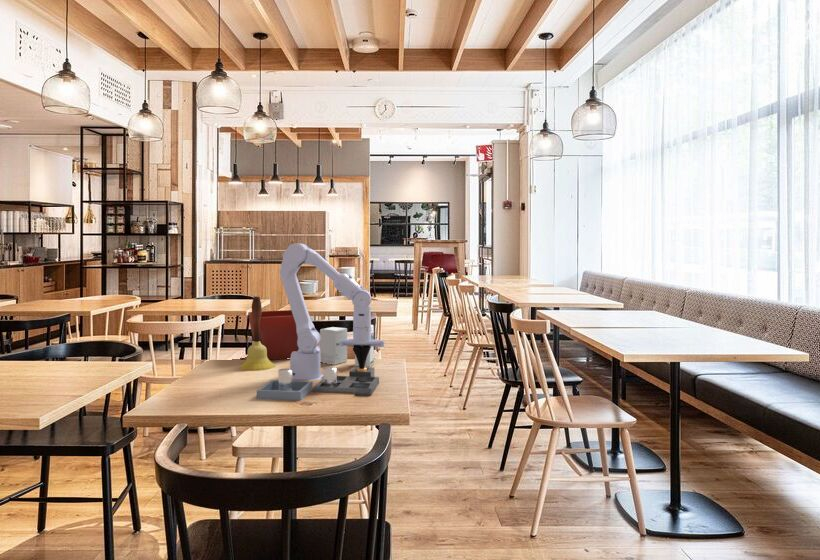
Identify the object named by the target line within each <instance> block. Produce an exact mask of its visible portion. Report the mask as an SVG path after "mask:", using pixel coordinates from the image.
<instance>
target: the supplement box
mask: <svg viewBox="0 0 820 560" xmlns="http://www.w3.org/2000/svg"><path fill="white" fill-rule="evenodd" d="M319 334H320V336H321V340H320V343H319V349H320V362H323V363H322V364H325V363H327V364H326V365H331V364H332V366H336V365H339V364H342V363H347V362H348V346H340V340H341V339H348V328H346V327H338V326H337V327H335V326H331V327H326V328H321V329H320V330H319ZM346 361H347V362H346Z"/></svg>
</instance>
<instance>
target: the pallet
mask: <svg viewBox="0 0 820 560" xmlns="http://www.w3.org/2000/svg"><path fill="white" fill-rule="evenodd" d="M379 384H380V376H374V377H361V376H349V375H337V387H323V378H321V380H320V381H319V382H318V383H316V385H314V387H313V392H314V393H317V392H318V393H335V394H336V393H338V394H339V393H340V394H341V393H342V394H354V396H372V395H373V393H374V392H375V391H376V389H377V388H378V386H379Z"/></svg>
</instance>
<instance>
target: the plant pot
mask: <svg viewBox="0 0 820 560" xmlns="http://www.w3.org/2000/svg"><path fill="white" fill-rule="evenodd" d="M247 314H248V321H249V326H250V332H251V335H252V339H253V340H254V321H253V317H252V311H249V312H248V313H247ZM297 340H298V335H297V331H296V323H295V320H294V317H293V314H292V310H291V309H286V310H262V314H261V318H260V342H261V344H262V345H264V346H265V347H266V349H267V358H268V359H269V360H270V361H272V360H282V359H283V360H284V359H290V358H291V354H292V352H293V351H298V350H299V347H298V345H297Z"/></svg>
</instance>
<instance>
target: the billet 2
mask: <svg viewBox="0 0 820 560" xmlns="http://www.w3.org/2000/svg"><path fill="white" fill-rule="evenodd" d="M322 372H323V373H322V374H323V377H322V379H323V387H337V376H338V368H337V367H336V366H325V367H323V371H322Z"/></svg>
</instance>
